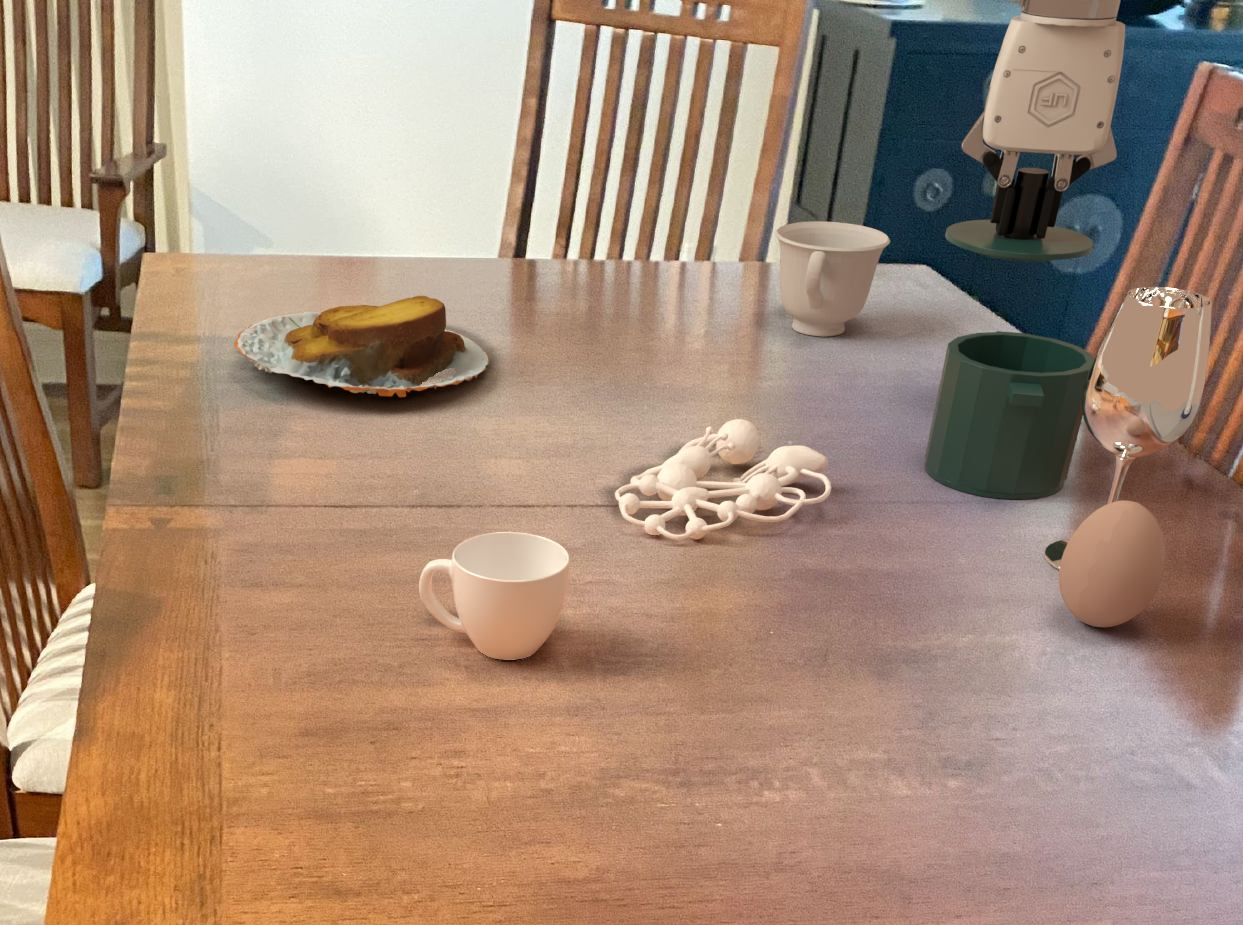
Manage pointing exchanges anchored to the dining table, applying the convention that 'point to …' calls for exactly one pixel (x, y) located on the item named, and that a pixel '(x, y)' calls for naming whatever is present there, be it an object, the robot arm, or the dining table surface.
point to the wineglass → (1146, 379)
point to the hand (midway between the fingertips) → (1020, 231)
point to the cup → (502, 591)
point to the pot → (1007, 414)
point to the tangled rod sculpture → (755, 488)
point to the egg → (1112, 564)
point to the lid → (1021, 228)
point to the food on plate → (365, 347)
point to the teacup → (826, 273)
